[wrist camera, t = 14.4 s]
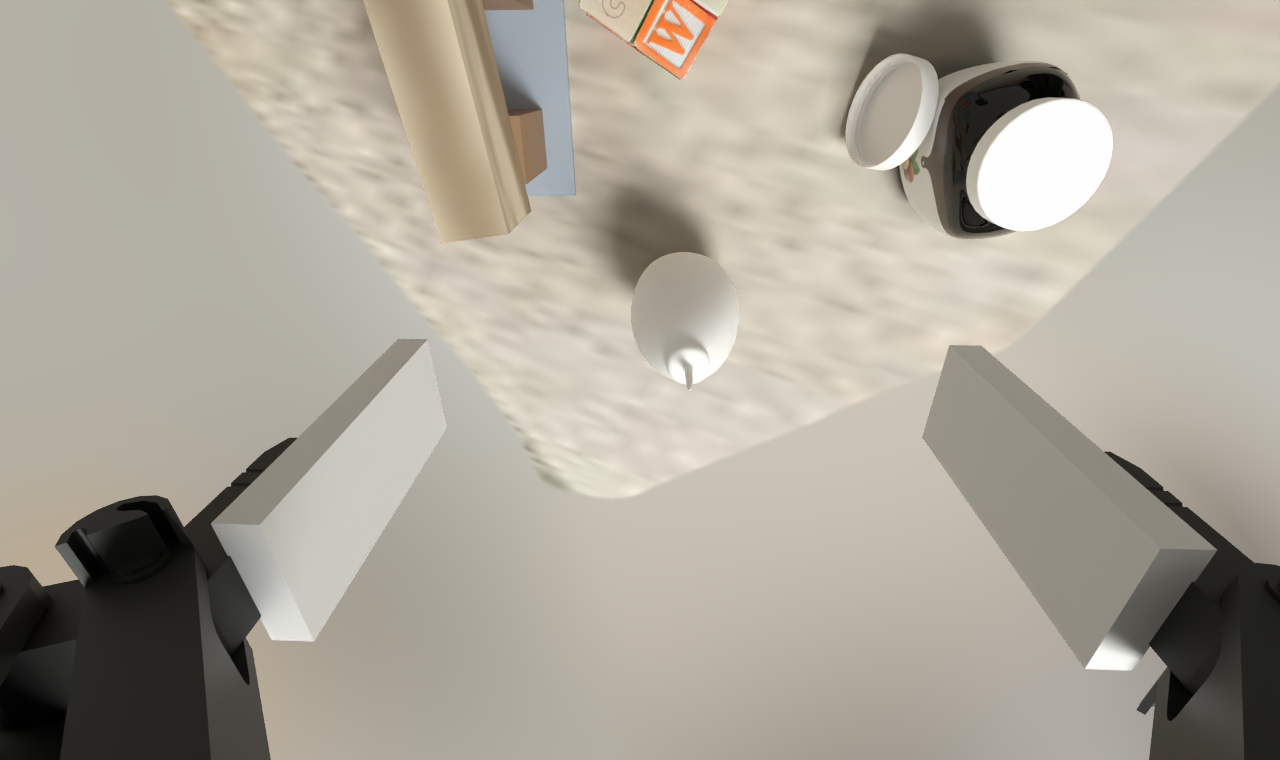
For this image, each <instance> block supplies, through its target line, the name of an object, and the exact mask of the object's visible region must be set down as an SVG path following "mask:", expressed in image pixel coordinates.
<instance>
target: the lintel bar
mask: <svg viewBox="0 0 1280 760" xmlns="http://www.w3.org/2000/svg"><path fill="white" fill-rule="evenodd" d="M363 2H364V5H365V8H366V11H367V14H368V17H369V20H370V24H371V27H372V30H373V33H374V36H375V39H376V42H377V45H378V48H379V52H380V55H381V58H382V61H383V64H384V67H385V70H386V73H387V76H388V80H389V83H390V86H391V89H392V92H393V95H394V98H395V101H396V104H397V108H398V111H399V114H400V117H401V120H402V123H403V126H404V129H405V132H406V136H407V139H408V142H409V145H410V148H411V151H412V154H413V157H414V160H415V164H416V167H417V170H418V173H419V176H420V179H421V182H422V185H423V189H424V192H425V195H426V198H427V201H428V204H429V207H430V210H431V213H432V217H433V220H434V223H435V226H436V229H437V232H438V235H439V238H440V241H441V243H447V242H455V241H462V240H469V239H476V238H484V237H491V236H498V235H505V234H509V233H510V232H511V231H512V230H513V229H514V228H515V227H516V226H517V225H518V224H519V223H520V222H521V221H522V220H523V219H524V218H525V217H526V216H527V215H528V214H529V213H530V212H531V208H530V204H529V200H528V195H527V191H526V187H525V183H524V178H523V174H522V170H521V166H520V161H519V157H518V153H517V149H516V144H515V140H514V136H513V132H512V127H511V123H510V119H509V115H508V110H507V106H506V102H505V98H504V93H503V89H502V85H501V80H500V76H499V72H498V68H497V63H496V59H495V55H494V51H493V46H492V42H491V38H490V34H489V29H488V25H487V21H486V17H485V12H484V8H483V4H482V0H363Z"/></svg>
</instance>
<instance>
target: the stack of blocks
mask: <svg viewBox="0 0 1280 760" xmlns="http://www.w3.org/2000/svg"><path fill="white" fill-rule="evenodd" d="M727 2H728V0H580V3H579V7H580V8H582V9H583V10H585V11H586V15H587V16H589V17H591V18H592V19H594V20H595V21H597V22H598V23H599V24H601V25H602V26H604V27H605V28H607V29H608V30H609V31H611V32H612V33H614V34H615V35H616V36H618V37H619V38H620V39H622V40H623V41H625V42H626V43H628V44H629V45H630V46H632V47H634V48H635V49H636V50H637V51H638V52H640V53H642V54H643V55H644V56H646V57H647V58H649V59H650V60H652V61H653V62H655V63H656V64H658V65H659V66H661V67H662V68H664V69H665V70H667V71H668V72H670V73H671V74H673V75H674V76H675V77H677V78H678V79H680V80H681V79H682V80H684V78H685V76H686V75H687V73H688V71H689V69H690V68H691V66H692V64H693V62H694V60H695V58H696V57H697V55H698V53H699V51H700V49H701V48H702V46H703V44H704V42H705V40H706V39H707V37H708V35H709V33H710V32H711V30H712V28H713V26H714V24H715V22H716V20H717V19H718V18H719V17H720V15H721V13H722V11H723V10H724V8H725V6H726V4H727Z"/></svg>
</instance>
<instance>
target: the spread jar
mask: <svg viewBox="0 0 1280 760" xmlns="http://www.w3.org/2000/svg"><path fill="white" fill-rule="evenodd" d="M845 138H846V147H847V151H848V153H849V156H850V157H851V159H852V160H853V162H854V163H856V164H857V165H858V166H861V167H864V168H869V169H875V170H888V169H892V168H894V167H896V166H898V168H899V174H900V178H901V182H902V185H903V188H904V191H905V194H906V197H907V199H908V202H909V204H910V206H911V207H912V209H913V210H914V212H915V213H916V214H917V216H918V217H919V218H920V219H921V220H922V221H924V222H925V223H927V224H928V225H930V226H931V227H933V228H935V229H936V230H938V231H940V232H942V233H944V234H946V235H948V236H952V237H955V238H961V239H980V238H991V237H997V236H1002V235H1006V234H1009V233H1013V232H1016V231H1031V230H1038V229H1041V228H1044V227H1048V226H1051V225H1053V224H1055V223H1057V222H1059V221H1061V220H1063V219H1065V218H1066V217H1068V216H1069V215H1071V214H1072V213H1074V212H1075V211H1076V210H1077V209H1079V208H1080V207H1081V206H1082V205H1083V204H1084V203H1085V202H1086V201H1087V200H1088V199H1089V198H1090V197H1091V196H1092V194H1093V193H1094V192H1095V191H1096V189H1097V188H1098V186H1099V185H1100V183H1101V181H1102V180H1103V178H1104V176H1105V174H1106V172H1107V169H1108V167H1109V165H1110V160H1111V156H1112V152H1113V136H1112V131H1111V126H1110V124H1109V122H1108V120H1107V118H1106V116H1105V115H1104V114H1103V113H1102V112H1101V111H1100V110H1099V109H1098V108H1097V107H1095V106H1094V105H1092V104H1090V103H1089V102H1086V101H1082V100H1080V97H1079V94H1078V91H1077V89H1076V87H1075V85H1074V84H1073V82H1072V81H1071V79H1070V78H1069V76H1068V75H1067V73H1065V72H1064V71H1062V70H1061V69H1059V68H1058V67H1056V66H1054V65H1051V64H1047V63H1043V62H1035V61H1017V62H999V63H990V64H983V65H978V66H974V67H970V68H966V69H963V70H960V71H957V72H954V73H951V74H949V75H947V76H944V77H942V78H940V79H938V77H937V73H936V71H935V69H934V67H933V66H932V65H931V64H930V63H929V62H928V61H927V60H925V59H923V58H920V57H916V56H912V55H908V54H895V55H891V56H889V57H887V58H885V59H883V60H882V61H881V62H880V63H878V64H877V65H876V66H875V67H874V68H873V69H872V70H871V71H870V72H869V73H868V75H867V76H866V77H865V79H864V80H863V82H862V83H861V85H860V87H859V88H858V90H857V92H856V94H855V96H854V99H853V101H852V104H851V107H850V110H849V113H848V117H847V122H846V131H845Z"/></svg>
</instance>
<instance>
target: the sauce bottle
mask: <svg viewBox="0 0 1280 760" xmlns="http://www.w3.org/2000/svg"><path fill="white" fill-rule="evenodd" d="M739 315H740V314H739V301H738V296H737V292H736V289H735V286H734V283H733V281H732V280H731V278H730V276H729V275H728V273H727V271H726V270H725V269H724V268H723V267H722V266H721V265H720V264H718V263H717V262H715V261H714V260H712V259H711V258H709V257H706V256H704V255H701V254H697V253H692V252H676V253H670V254H667V255H665V256H662V257H660V258H658V259H657V260H655V261H653V262H652V263H651V264H650V265H649V266H648V267H647V268H646V269H645V270H644V272H643V273H642V275H641V277H640V278H639V280H638V282H637V285H636V288H635V290H634V294H633V299H632V305H631V323H632V329H633V334H634V338H635V340H636V343H637V345H638V348H639V350H640V352H641V354H642V355H643V356H644V358H645V359H646V361H647V362H648V363H649V364H650V365H651V366H652V367H653V368H654V369H655V370H656V371H658V372H659V373H660V374H662V375H664V376H666V377H668V378H671V379H673V380H675V381H677V382H679V383H682V384H687V388H688V390H691V389H692V386H693V384H695V383H698V382H700V381H702V380H703V379H704V378H706V377H708V376H710V375H711V374H713V373H714V372H715V371H716V370H717V369H718V368H719V367H720V366H721V365H722V364H723V362H724V361H725V360H726V358H727V357H728V355H729V353H730V351H731V349H732V347H733V345H734V342H735V339H736V335H737V331H738V325H739Z"/></svg>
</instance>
